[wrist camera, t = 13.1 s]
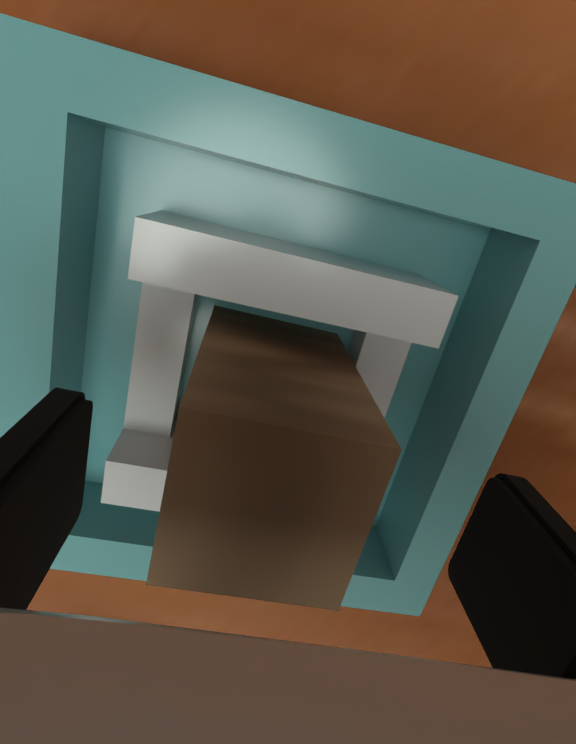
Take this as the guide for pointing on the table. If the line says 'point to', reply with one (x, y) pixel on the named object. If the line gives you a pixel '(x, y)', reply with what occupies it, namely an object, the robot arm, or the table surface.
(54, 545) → the robot arm
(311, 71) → the table surface
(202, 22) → the table surface
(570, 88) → the table surface
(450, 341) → the candle dish
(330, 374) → the brown wooden block
